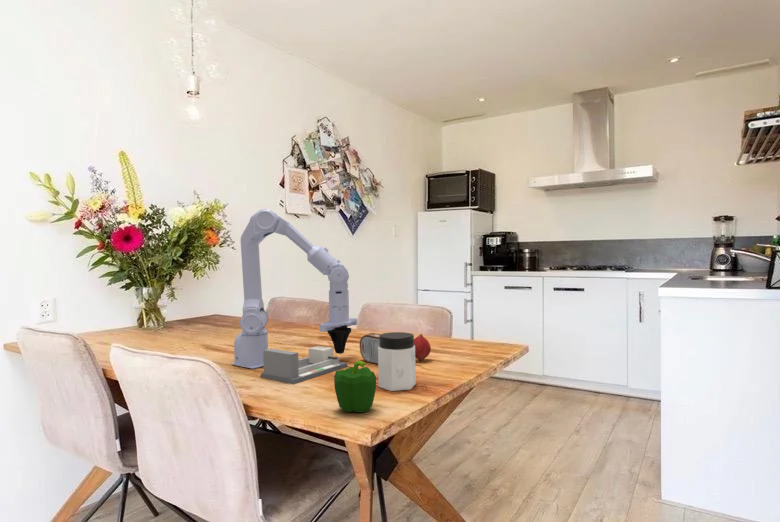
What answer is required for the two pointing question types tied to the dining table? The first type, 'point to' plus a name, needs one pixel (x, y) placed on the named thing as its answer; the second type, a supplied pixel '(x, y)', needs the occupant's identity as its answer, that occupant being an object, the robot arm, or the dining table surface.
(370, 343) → the tin
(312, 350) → the slider
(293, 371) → the gauge rail
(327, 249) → the robot arm
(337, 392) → the bell pepper
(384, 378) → the jar
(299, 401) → the dining table surface
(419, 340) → the onion
